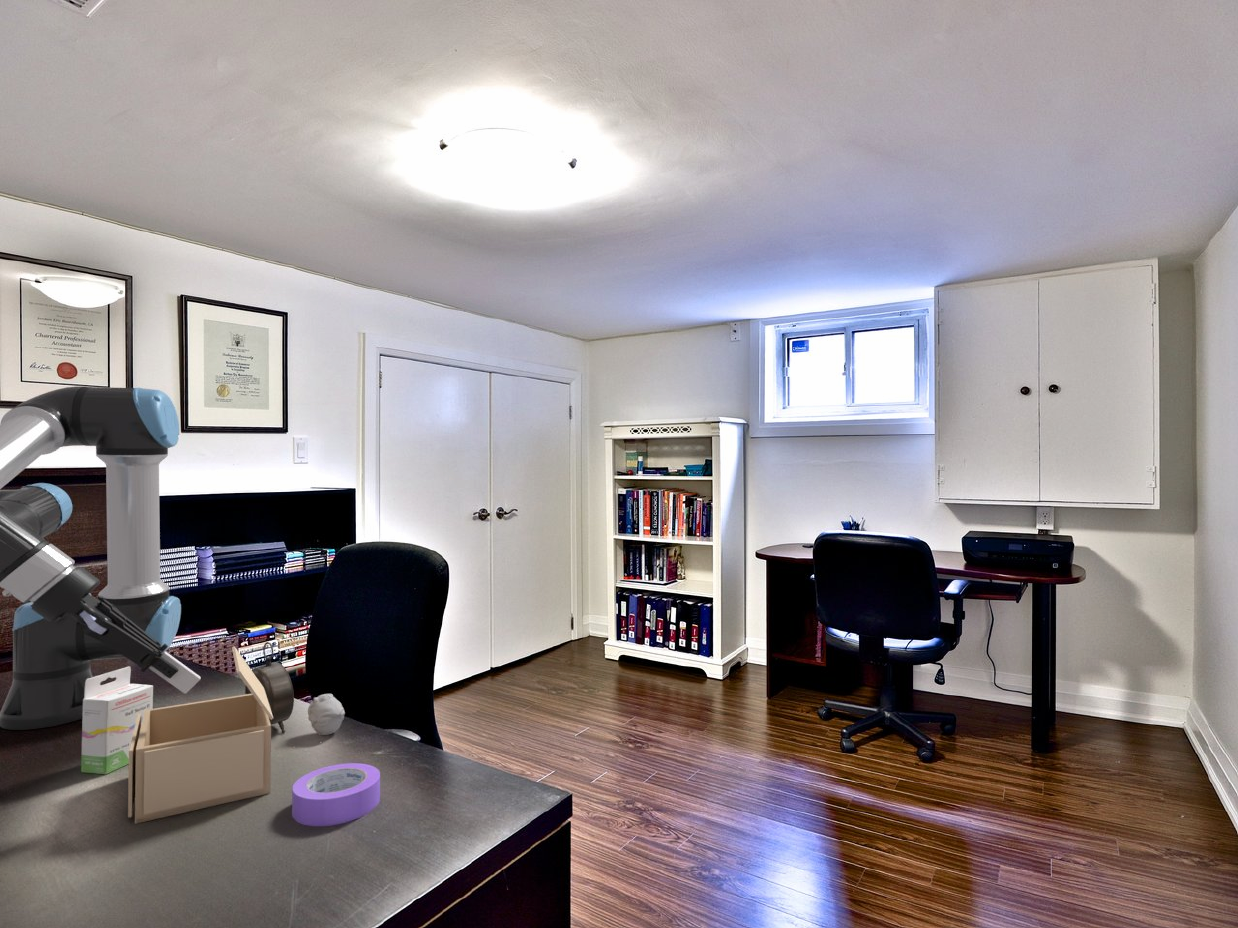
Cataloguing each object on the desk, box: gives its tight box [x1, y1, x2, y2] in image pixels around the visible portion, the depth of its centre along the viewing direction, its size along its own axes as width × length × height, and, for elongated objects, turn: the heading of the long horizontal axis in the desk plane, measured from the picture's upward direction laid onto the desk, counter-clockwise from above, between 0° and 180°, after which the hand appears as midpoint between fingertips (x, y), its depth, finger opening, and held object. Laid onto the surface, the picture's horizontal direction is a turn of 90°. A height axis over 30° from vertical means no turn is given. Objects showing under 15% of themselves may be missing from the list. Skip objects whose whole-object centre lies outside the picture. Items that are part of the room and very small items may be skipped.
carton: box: [127, 694, 272, 824], centre depth 102 cm, size 20×17×10 cm
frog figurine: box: [307, 693, 346, 736], centre depth 122 cm, size 6×7×7 cm
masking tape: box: [291, 762, 381, 827], centre depth 96 cm, size 12×12×4 cm
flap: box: [231, 645, 273, 720], centre depth 106 cm, size 17×1×9 cm, turn 32°
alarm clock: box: [244, 641, 295, 734], centre depth 124 cm, size 11×5×16 cm, turn 52°
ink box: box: [80, 666, 154, 775], centre depth 110 cm, size 9×5×15 cm, turn 168°
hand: (192, 685), depth 101 cm, fingers closed
